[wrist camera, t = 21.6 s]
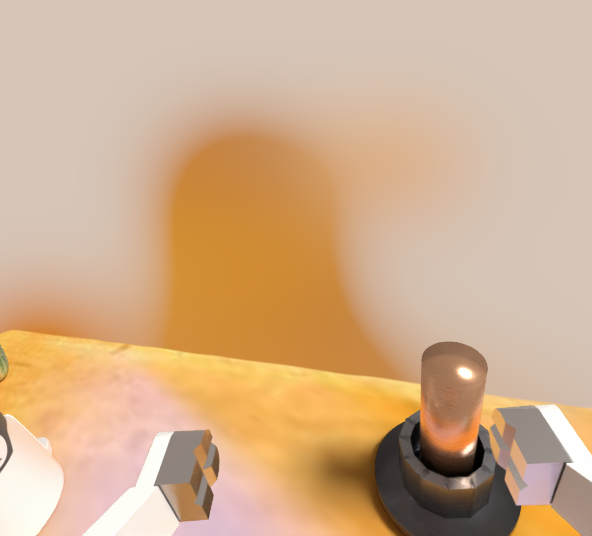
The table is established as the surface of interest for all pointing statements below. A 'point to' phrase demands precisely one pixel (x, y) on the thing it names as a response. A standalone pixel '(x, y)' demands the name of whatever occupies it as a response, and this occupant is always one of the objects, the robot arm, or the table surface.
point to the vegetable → (3, 364)
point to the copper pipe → (451, 407)
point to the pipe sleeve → (442, 489)
